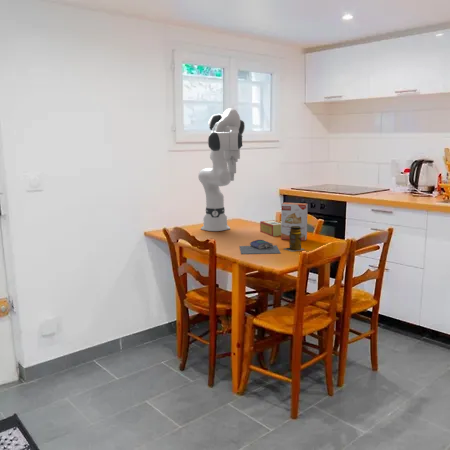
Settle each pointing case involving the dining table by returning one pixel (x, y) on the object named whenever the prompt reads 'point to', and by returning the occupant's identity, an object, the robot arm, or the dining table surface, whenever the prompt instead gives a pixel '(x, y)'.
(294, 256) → the dining table surface
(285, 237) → the cracker box
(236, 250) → the dining table surface
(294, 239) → the condiment
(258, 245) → the flask
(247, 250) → the slate mat
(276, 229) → the baking soda box
